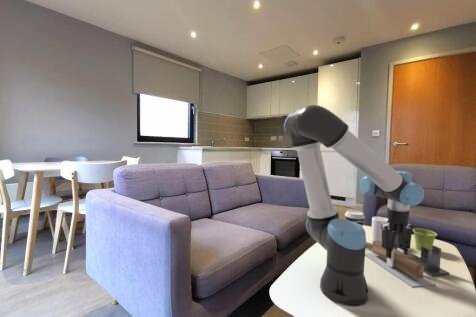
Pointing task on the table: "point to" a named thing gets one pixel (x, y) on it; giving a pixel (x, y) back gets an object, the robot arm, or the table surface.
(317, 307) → the table surface
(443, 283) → the table surface
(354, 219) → the coffee cup
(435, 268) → the stand
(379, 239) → the mug
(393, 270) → the mat
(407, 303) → the table surface
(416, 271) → the rail
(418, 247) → the plant pot
